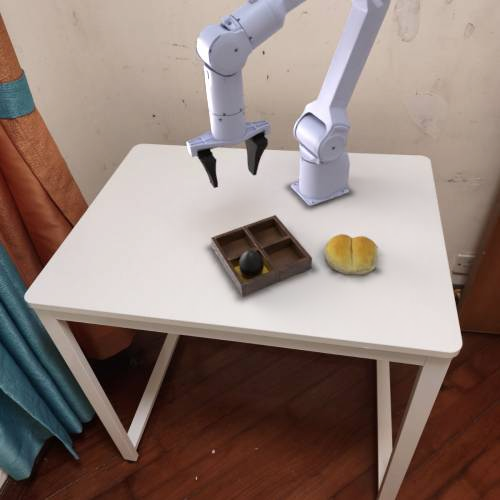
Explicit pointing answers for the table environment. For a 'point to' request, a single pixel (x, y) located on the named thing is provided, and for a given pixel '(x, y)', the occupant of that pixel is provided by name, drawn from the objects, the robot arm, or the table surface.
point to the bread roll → (351, 254)
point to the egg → (251, 264)
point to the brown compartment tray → (261, 253)
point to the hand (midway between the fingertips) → (233, 178)
